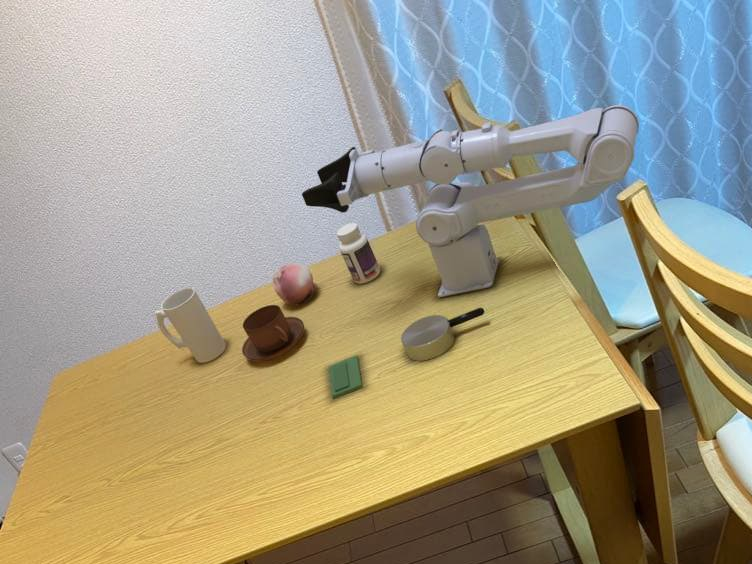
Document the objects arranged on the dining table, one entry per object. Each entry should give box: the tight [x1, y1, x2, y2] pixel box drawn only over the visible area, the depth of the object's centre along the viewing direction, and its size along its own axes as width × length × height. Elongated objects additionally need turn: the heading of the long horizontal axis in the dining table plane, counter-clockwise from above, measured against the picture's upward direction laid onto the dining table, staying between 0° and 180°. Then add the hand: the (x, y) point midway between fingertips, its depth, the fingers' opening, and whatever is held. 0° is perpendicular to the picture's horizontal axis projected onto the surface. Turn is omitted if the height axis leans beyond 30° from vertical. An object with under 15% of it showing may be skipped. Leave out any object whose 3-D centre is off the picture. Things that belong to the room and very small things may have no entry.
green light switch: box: [328, 354, 363, 400], centre depth 137 cm, size 5×9×1 cm, turn 7°
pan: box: [400, 307, 485, 362], centre depth 134 cm, size 14×8×3 cm, turn 97°
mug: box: [154, 286, 227, 364], centre depth 157 cm, size 10×7×12 cm, turn 84°
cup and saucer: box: [241, 304, 305, 362], centre depth 151 cm, size 12×12×6 cm
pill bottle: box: [336, 222, 381, 285], centre depth 156 cm, size 5×5×10 cm
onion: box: [272, 263, 318, 306], centre depth 160 cm, size 8×8×7 cm
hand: (312, 187), depth 139 cm, fingers open, 7 cm apart
